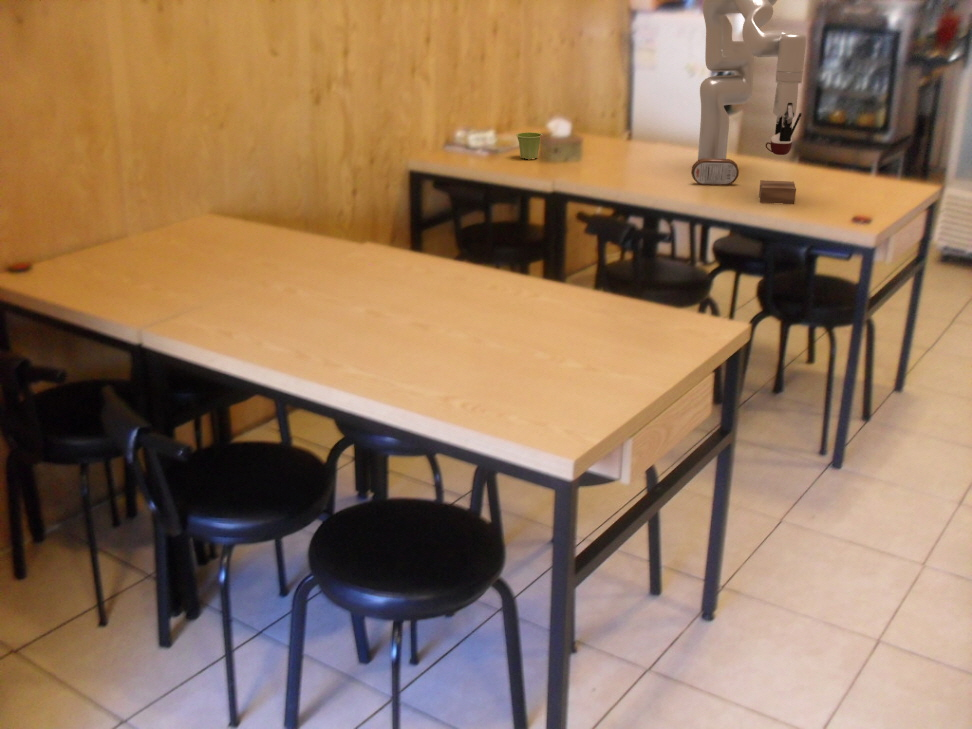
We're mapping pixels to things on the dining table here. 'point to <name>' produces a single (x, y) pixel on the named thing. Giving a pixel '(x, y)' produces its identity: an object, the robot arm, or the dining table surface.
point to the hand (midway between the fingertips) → (782, 138)
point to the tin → (715, 171)
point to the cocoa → (782, 142)
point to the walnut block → (777, 192)
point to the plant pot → (529, 144)
